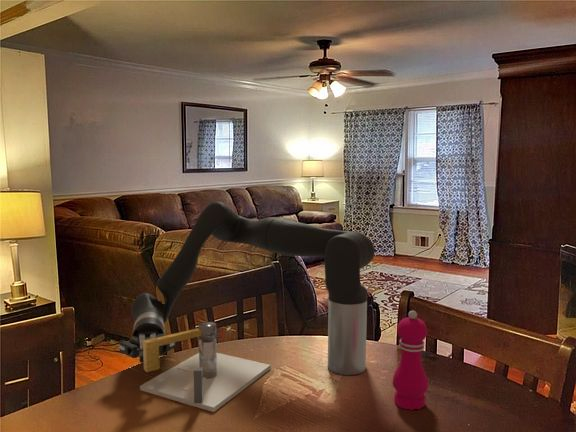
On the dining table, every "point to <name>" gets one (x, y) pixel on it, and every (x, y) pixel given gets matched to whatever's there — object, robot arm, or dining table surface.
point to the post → (208, 358)
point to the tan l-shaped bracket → (152, 345)
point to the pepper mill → (411, 364)
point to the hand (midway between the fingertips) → (146, 360)
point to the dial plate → (206, 381)
